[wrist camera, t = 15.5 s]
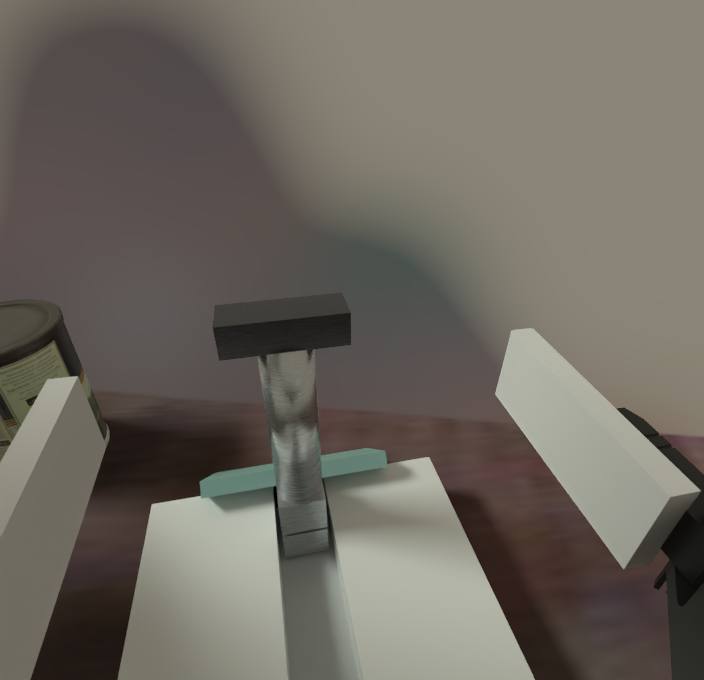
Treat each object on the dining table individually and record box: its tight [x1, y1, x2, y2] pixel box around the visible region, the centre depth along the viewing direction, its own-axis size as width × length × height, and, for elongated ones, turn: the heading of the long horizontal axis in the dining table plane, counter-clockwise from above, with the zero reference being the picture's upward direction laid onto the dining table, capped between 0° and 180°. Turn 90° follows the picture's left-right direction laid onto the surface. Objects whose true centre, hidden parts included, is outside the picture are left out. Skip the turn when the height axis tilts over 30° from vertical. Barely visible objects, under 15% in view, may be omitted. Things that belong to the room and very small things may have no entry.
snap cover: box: [200, 448, 388, 499], centre depth 37 cm, size 14×8×1 cm
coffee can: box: [0, 300, 110, 462], centre depth 40 cm, size 10×10×14 cm
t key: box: [213, 293, 351, 558], centre depth 29 cm, size 7×3×20 cm, turn 102°
